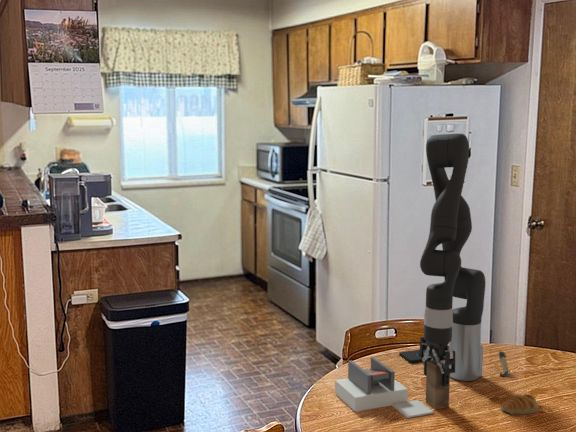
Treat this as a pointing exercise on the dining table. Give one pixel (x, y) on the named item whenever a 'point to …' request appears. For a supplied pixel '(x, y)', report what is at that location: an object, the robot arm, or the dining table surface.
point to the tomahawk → (504, 365)
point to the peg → (436, 387)
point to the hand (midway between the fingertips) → (435, 380)
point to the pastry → (521, 405)
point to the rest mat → (412, 409)
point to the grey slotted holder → (369, 388)
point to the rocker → (377, 375)
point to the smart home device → (412, 356)
